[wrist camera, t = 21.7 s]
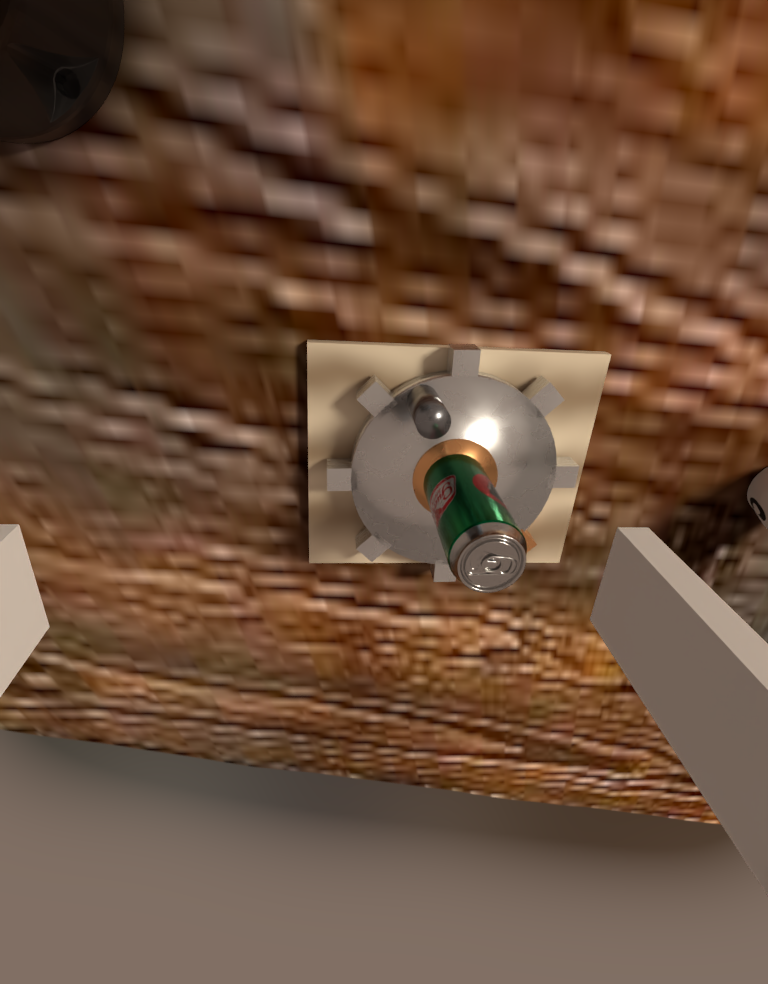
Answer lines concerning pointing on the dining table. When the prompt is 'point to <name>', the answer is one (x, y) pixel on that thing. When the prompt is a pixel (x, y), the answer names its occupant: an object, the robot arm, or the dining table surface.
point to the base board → (354, 363)
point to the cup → (759, 496)
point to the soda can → (474, 525)
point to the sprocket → (448, 453)
